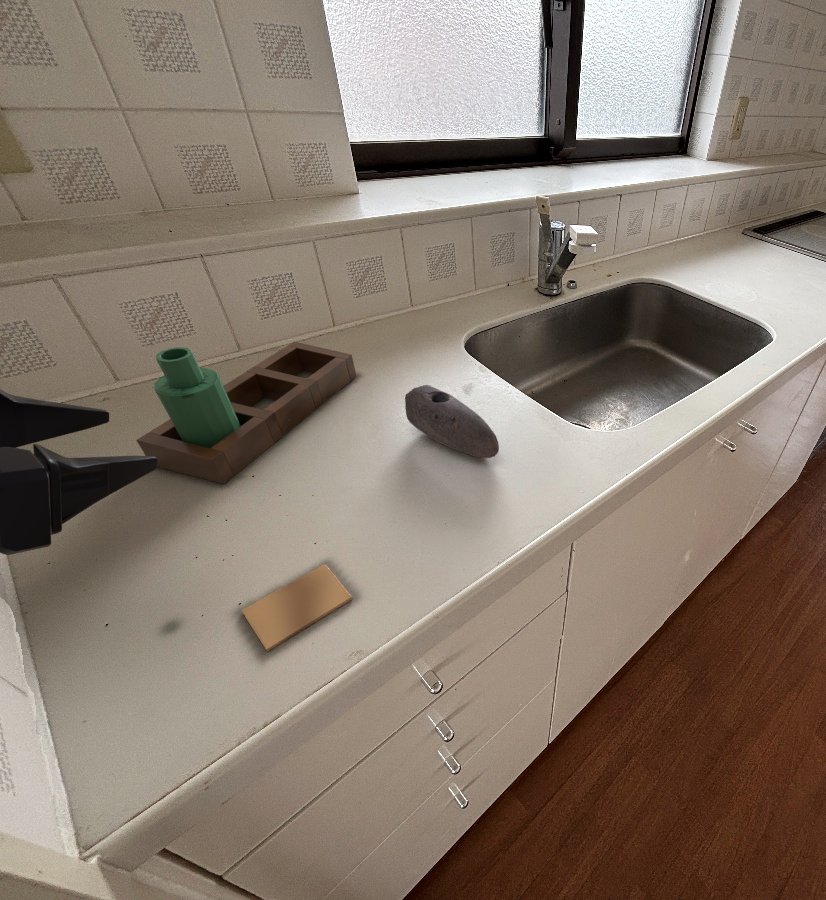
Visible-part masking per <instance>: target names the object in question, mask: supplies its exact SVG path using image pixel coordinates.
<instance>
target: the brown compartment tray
mask: <svg viewBox="0 0 826 900" xmlns="http://www.w3.org/2000/svg"><path fill="white" fill-rule="evenodd" d="M302 371H306V372H311V373H312V374H311V375H309V376H308V377H307V378H305V377H302V376H297V375H298V374H299V373H301V372H302ZM356 377H357V371H356V367H355V363H354V359H353V354H351V353H347V352H343V351H338V350H333V349H329V348H326V347H325V348H324V347H321V346H316V345H313V344H312V345H311V344H308V343H303V342H299V341H293V342H291V343H289V344H288V345H286V346H285V347H283V348H281V349H279V350H278V351H277V352H275V353H273V354H271V355H270V356H269V357H267V358H265V359H264V360H262V361H260V362H259V363H257V364H255V365H254V366H252V367H250V368H249V369H247V370H246V371H245V372H243V373H241V374H239V375H238V376H237V377H235V378H233V379H232V380H230V381H228V382H227V383H225V384H223V386H224V389H225V391H226V393H227V396H228V398H229V400H230V403H231V405H232V407H233V409H234V412H235V414H236V416H237V419H238V421H239V423H240V426H241V427H239V428H238V429H236V430H235V431H234V432H232V433H231V434H230V435H228V436H227V437H225V438H224V439H223V440H221V441H220V442H219V443H217V444H216V445H214V446H213V447H212V448H207V447H203V446H199V445H195V444H191V443H187V442H183V441H182V439H181V437H180V436H179V434H178V432H177V430H176V428H175V426H174V424H173V423H172V421H171V419H170V418H169V419H167V420H166V421H164V422H162V423H161V424H160V425H158V426H156V427H155V428H153V429H152V430H150V431H149V432H147V433H145V434H143V435H142V436H140V437H138V438H137V439H136V442H137V444H138V446H139V447H140V449H141V450H142V452H143V454H144V456H155V457H156V458H157V459H158V463H157V468H161V469H165V470H169V471H172V472H176V473H179V474H183V475H187V476H191V477H195V478H198V479H203V480H206V481H210V482H214V483H218V484H221V485H225V484H226V483H227V482H228V481H230V480H231V479H232V478H234V476H236V475H237V474H239V473H240V472H241V471H242V470H244V469H245V468H246V467H248V466H249V465H250V463H253V462H254V461H255V460H256V459H257V458H259V457H260V456H261V455H262V454H263V453H264V452H265V451H267V450H268V449H269V448H270V447H272V446H273V445H274V444H275V443H276V442H277V441H279V440H280V439H282V438H283V437H285V435H286V434H288V433H289V432H290V431H291V430H293V429H294V428H295V427H296V426H297V425H299V424H301V422H302V421H304V420H305V419H306V418H307V417H308V416H310V415H312V413H314V412H315V411H316V410H317V409H319V407H321V406H322V405H323V404H325V403H326V402H327V401H329V400H330V399H331V398H332V397H333V396H335V394H336V393H338V392H339V391H340V390H342V389H343V388H344V387H345V386H346V385H348V384H349V383H350V382H351V381H353V380H354V379H355V378H356ZM263 398H268V399H272V400H275V401H274V402H272V403H271V404H270V405H268V406H266V407H265V408H264V409H260V408H257V407H252V406H253V405H255V404H257V403H258V402H259V401H261V400H263Z"/></svg>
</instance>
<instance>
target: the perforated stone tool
mask: <svg viewBox="0 0 826 900" xmlns="http://www.w3.org/2000/svg"><path fill="white" fill-rule="evenodd" d="M404 405H405V406H404V407H405V408H404V409H405V415H406V419H407V421H408V422H409V424H411V425H412V426H413V427H415V428H416V429H417V430H418V431H420V432H421V433H423V434H424V435H426V436H427V437H428V438H430V439H432V440H433V441H436V442H438V443H440V444H442V445H444V446H446V447H449V448H451V449H454V450H456V451H459V452H461V453H464V454H467V455H469V456H472V457H475V458H483V459H491V458H494V457H496V455H498V453H499V451H500V444H499V441H498V437H497V436H496V434H495V432H494V431H493V430H492V429H491V427H490V425H489V424H488V423H487V422H486V421H485V420H484V418H482V417H481V416H480V415H479V414H478V413H477V412H475V410H473V409H472V408H470V407H469V406H468V405H466V404H465V403H464V402H462V401H460V400H459V399H457V398H456V397H454V396H453V395H451V394H449V393H447V392H445V391H444V390H440V389H438V388H436V387H434V386H432V385H429V384H423V385H420V386H417V387H414V388H412V389H411V390H409V391H408V392H407V393H405V397H404Z"/></svg>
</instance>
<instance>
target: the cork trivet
mask: <svg viewBox="0 0 826 900" xmlns="http://www.w3.org/2000/svg"><path fill="white" fill-rule="evenodd" d="M352 600H353V597H352V595H351V594H350V592H349V591H348V590H347V588H346V587H345V586H344V585H343V583H342V582H341V581H340V580H339V579H338V578H337V576H336V575H335V574H334V573H333V572H332V570H331V569H330V568H329V566H328V565H327V564H326V563H324V564H322V565H320V566H319V567H317V568H315V569H313V570H311V571H309V572H308V573H306V574H304V575H302V576H301V577H299V578H297V579H295V580H293V581H291V582H289V583H288V584H286V585H284V586H282V587H280V588H278V589H277V590H275V591H274V592H272V593H270V594H268V595H266V596H265V597H263V598H261V599H259V600H257V601H255V602H254V603H252V604H250V605H248V606H246V607H244V608H243V609H241V613H242V614H243V616H244V617H245V620H246V621H247V623H248V624H249V625H250V627H251V628H252V630H253V631H254V634H255V635H256V636H257V638H258V639H259V641H260V643H261V644H262V646H263V647H264V649H265V651H266V652H269V651H271V650H273V649H275V648H276V647H278V646H279V645H281V644H282V643H284V642H287V640H289V639H291V638H292V637H293V636H295V635H297V634H298V633H300V632H302V631H303V630H305V629H307V628H308V627H310V626H311V625H313V624H315V623H316V622H317V621H319V620H321V619H322V618H324V617H326V616H327V615H329V614H331V613H333V612H334V611H335V610H337V609H339V608H340V607H342V606H344V605H345V604H347V603H348V602H350V601H352Z"/></svg>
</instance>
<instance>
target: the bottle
mask: <svg viewBox="0 0 826 900" xmlns="http://www.w3.org/2000/svg"><path fill="white" fill-rule="evenodd" d="M155 360H156V361H157V364H158V365H159V368H160V369H161V371H162V373H163V376H161V377H160V378H158V379H157V380H156V381H155V382H154V385H153V386H154V388H153V390H154V391H155V394H156V395H157V397H158V399H159V400H160V402H161V404H162V406H163V408H164V410H165V411H166V413H167V415H168V417H169V419H171V421H172V423H173V424H174V426H175V428H176V430H177V432H178V434H179V436H180V437H181V439H182V441H183V442H187V443H191V444H195V445H199V446H203V447H207V448H212V447H213V446H214V445H216V444H217V443H219V442H220V441H221V440H223V439H224V438H225V437H227V436H228V435H230V434H231V433H232V432H234V431H235V430H236V429H238V428H239V427H241V426H240V423H239V421H238V419H237V416H236V414H235V412H234V409H233V407H232V405H231V403H230V400H229V398H228V396H227V393H226V391H225V389H224V384H223V382H222V379H221V377H220V374H219V373H218V372H217V371H215V370H214V369H212V368H207V367H200V365H199V363H198V361H197V359H196V356H195V355H194V352H193V349H190V348H188V347H183V346H175V347H169V348H166V349H163V350H161V351H159V352H158V353H156V354H155Z"/></svg>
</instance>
